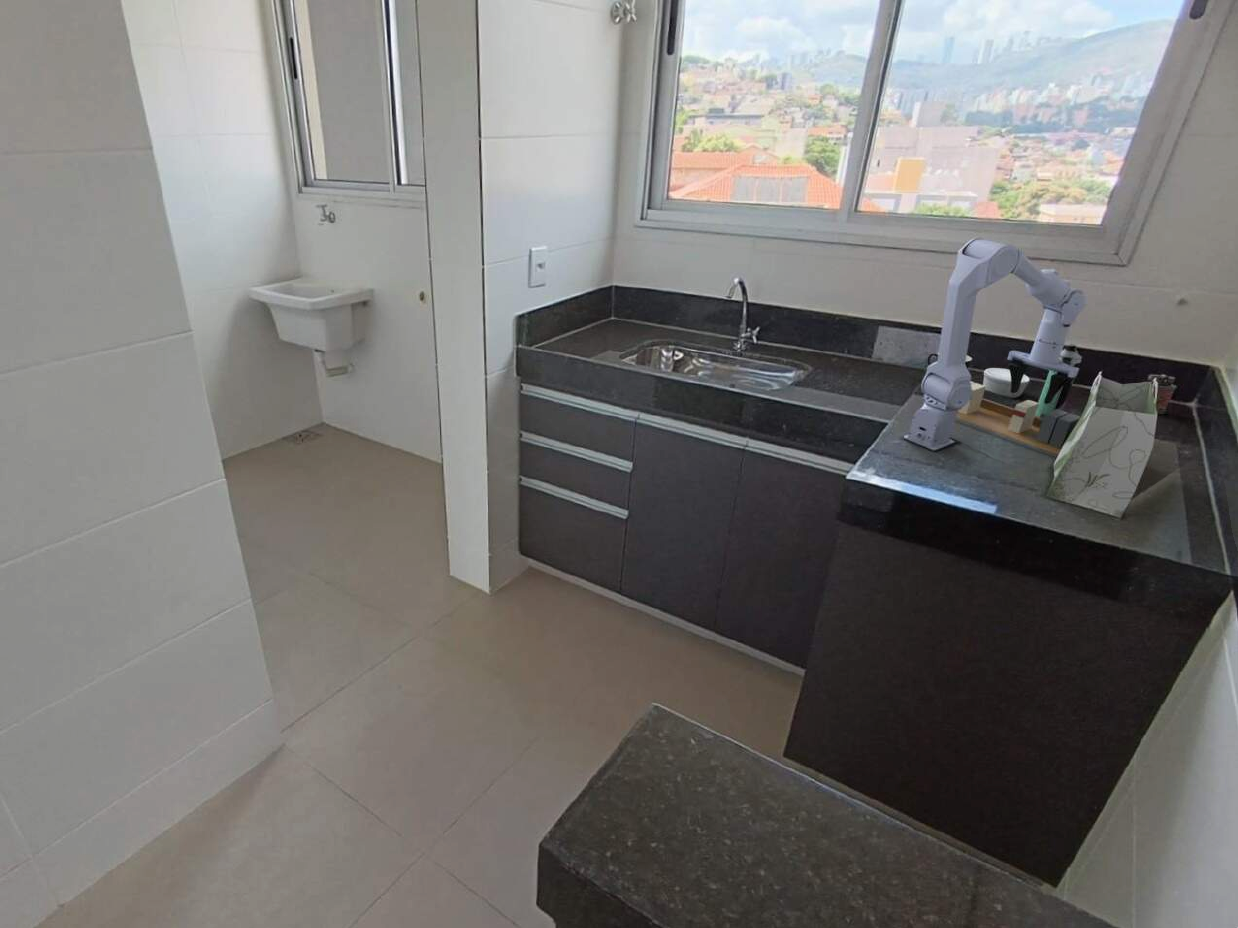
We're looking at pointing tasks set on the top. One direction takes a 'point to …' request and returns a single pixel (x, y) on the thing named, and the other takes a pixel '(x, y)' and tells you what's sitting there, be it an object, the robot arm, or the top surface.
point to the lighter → (1162, 391)
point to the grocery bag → (1107, 447)
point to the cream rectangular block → (974, 399)
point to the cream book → (1023, 416)
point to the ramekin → (1002, 382)
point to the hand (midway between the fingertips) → (1030, 397)
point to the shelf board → (1005, 423)
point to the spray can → (1060, 398)
